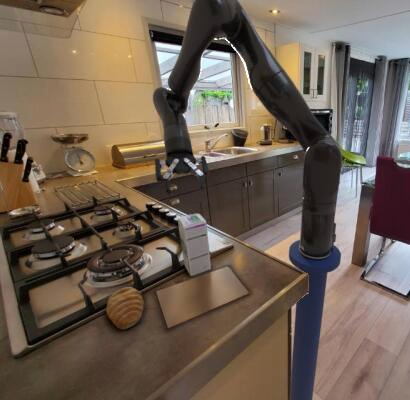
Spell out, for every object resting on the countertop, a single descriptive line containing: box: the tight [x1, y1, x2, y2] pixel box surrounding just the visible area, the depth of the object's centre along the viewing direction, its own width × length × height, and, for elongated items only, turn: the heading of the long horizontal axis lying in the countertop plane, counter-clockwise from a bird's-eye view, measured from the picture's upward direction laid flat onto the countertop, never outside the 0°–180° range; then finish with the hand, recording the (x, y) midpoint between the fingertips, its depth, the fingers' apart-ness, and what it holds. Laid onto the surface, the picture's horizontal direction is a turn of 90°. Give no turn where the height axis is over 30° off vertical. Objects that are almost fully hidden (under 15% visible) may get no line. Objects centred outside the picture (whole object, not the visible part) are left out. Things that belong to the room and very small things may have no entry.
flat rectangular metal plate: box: [155, 265, 250, 330], centre depth 58 cm, size 18×12×1 cm, turn 123°
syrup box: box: [177, 212, 212, 277], centre depth 64 cm, size 6×6×14 cm
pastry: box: [105, 286, 145, 331], centre depth 51 cm, size 9×7×4 cm
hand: (186, 191), depth 70 cm, fingers open, 8 cm apart
